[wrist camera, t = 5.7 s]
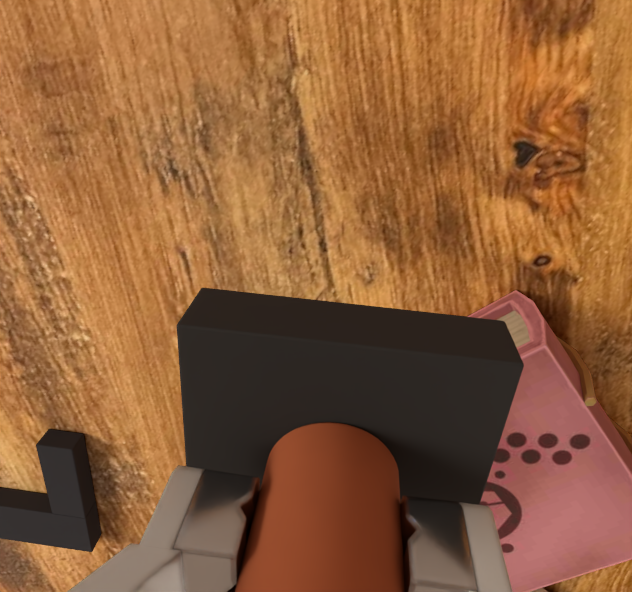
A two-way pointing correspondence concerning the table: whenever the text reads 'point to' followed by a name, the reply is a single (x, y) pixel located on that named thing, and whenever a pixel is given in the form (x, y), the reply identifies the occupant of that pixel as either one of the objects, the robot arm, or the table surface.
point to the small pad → (340, 425)
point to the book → (556, 462)
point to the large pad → (55, 498)
